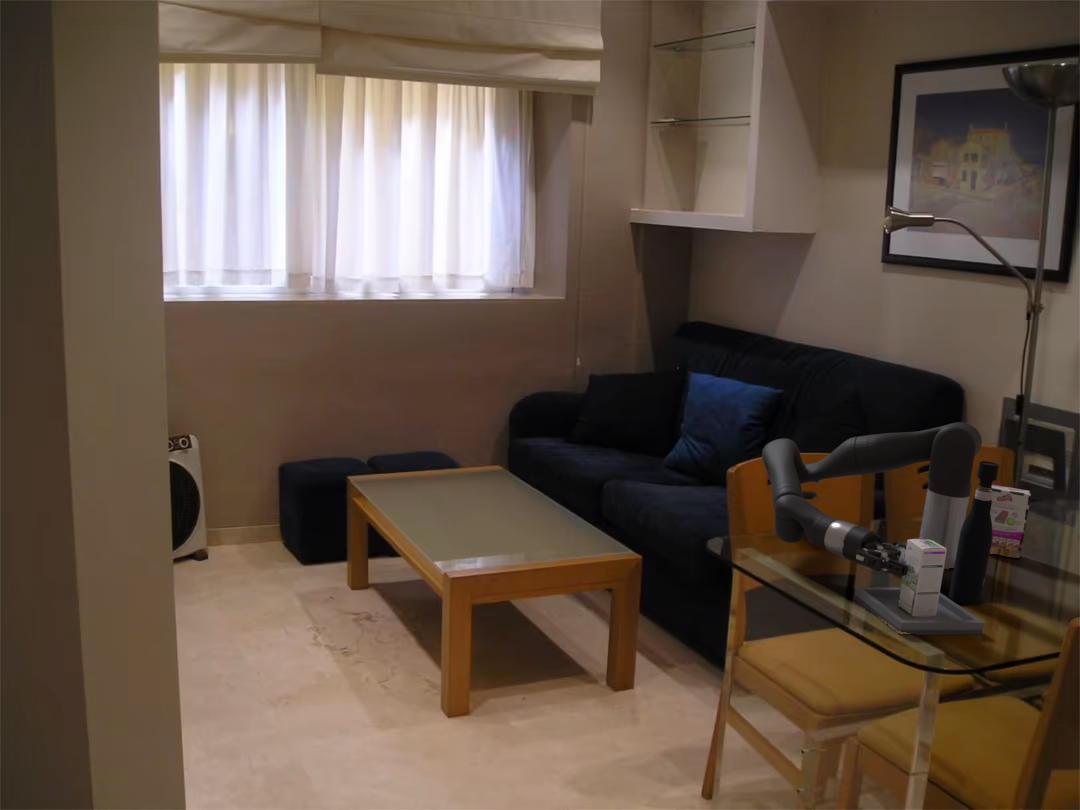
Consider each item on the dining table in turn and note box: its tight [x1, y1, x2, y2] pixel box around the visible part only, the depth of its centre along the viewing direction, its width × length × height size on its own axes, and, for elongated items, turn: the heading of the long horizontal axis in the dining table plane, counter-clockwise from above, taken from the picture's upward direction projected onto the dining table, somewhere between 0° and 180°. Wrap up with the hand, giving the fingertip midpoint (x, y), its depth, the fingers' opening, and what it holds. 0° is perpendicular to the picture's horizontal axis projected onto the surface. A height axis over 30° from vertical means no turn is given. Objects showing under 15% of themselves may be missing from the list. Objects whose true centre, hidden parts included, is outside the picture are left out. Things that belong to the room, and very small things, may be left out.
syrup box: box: [897, 538, 947, 617], centre depth 219 cm, size 6×6×14 cm
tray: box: [853, 586, 985, 636], centre depth 221 cm, size 18×18×2 cm
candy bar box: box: [990, 484, 1032, 552], centre depth 267 cm, size 11×5×16 cm, turn 68°
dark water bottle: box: [948, 460, 1000, 606], centre depth 231 cm, size 6×6×30 cm
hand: (918, 567), depth 220 cm, fingers open, 8 cm apart
